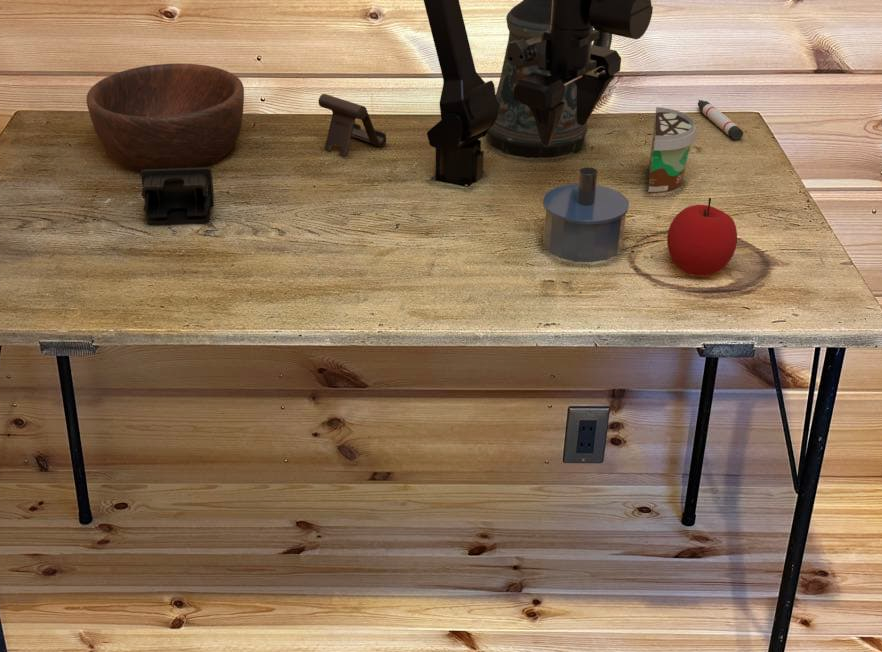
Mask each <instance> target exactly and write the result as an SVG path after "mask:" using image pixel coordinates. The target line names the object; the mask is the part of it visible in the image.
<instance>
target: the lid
mask: <svg viewBox="0 0 882 652" xmlns="http://www.w3.org/2000/svg"><path fill="white" fill-rule="evenodd" d="M598 171H599V170H597V169H596V168H594V167H583V168H580V170H579V172H578V183H569V184H564V185H561V186H557V187H554V188H552V189H550V190H549V191H547V192H546V193H545V194H544V196H543V198H542V206H543V208H544V211H545V210H546V211H547V212H548V213H549V214H551V215H552V216H554V217H556V218H558V219H561V220H564V221H567V222H572V223H578V224H602V223H608V222H612V221H615V220H617V219H620V218H621V217H623V216H624V215H625V214H626V215H627V214H628V211H629V208H630V203H629V200H628V198H627V197H626V196H625V195H624V194H623V193H622V192H620V191H617V190H616V189H613V188H611V187H608V186H604V185H599V184H598V174H599V173H598Z"/></svg>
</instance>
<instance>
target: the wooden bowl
mask: <svg viewBox="0 0 882 652" xmlns="http://www.w3.org/2000/svg"><path fill="white" fill-rule="evenodd" d="M244 102H245V87H244V84H243V82H242V80H240V78H239V77H238V76H236V75H235V74H233V73H232V72H230V71H228V70H225V69H222V68H218V67H215V66H211V65H204V64H196V63H159V64H151V65H150V64H149V65H145V66H144V65H143V66H139V67H134V68H130V69H125V70H123V71H119V72H116V73H113V74H111V75H108V76H106V77H104V78H102V79H101V80H99V81H98V82H96V83H95V84H94V85H93V86H92V87H91V88H90V89H89V90H88V92H87V93H86V101H85V103H86V107H87V110H88V114H89V116H90V120H91V123H92V126H93V129H94V131H95V134H96V136H97V138H98V140H99V142H100V143H101V145H102V147H103V149H104V150H105V151H106V153H107V154H108V155H109V156H110V157H111V158H112V160H114V161H115V162H116V163H118V164H120V165H121V166H123V167H125V168H128V169H130V170H134V171H138V172H141V171H142V170H144V169H171V168H197V167H208V166H209V165H211V164H214V163H216V162H218V161H220V160H222V159H224V157H226V156H227V155H228V154H229V153H230V152H231V151H232V149H233V148H234V146H235V144H236V143H237V140H238V138H239V135H240V132H241V128H242V124H243V117H244V104H245V103H244Z"/></svg>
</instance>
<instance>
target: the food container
mask: <svg viewBox="0 0 882 652" xmlns="http://www.w3.org/2000/svg"><path fill="white" fill-rule="evenodd" d="M652 130H653V132H652V138H651V139H652V140H651V141H652V142H651V148H650V156H649V164H648V169H649V170H648V190H647V194H662V193H663V194H665V193H669V192H672V191H676V190H678V189H679V188H680V187H681V186H682V183H683V179H684V176H685V175H684V173H685V170H686V165H687V161H688V156H689V152H690V148H691V145H692V144H694V142H696V140H697V129H696V125H695V121H694V120H693V118H692V117H691V116H690V115H688V114H687V113H685V112H682V111H681V110H677V109H673V108H668V107H662V106H661V107H659V106H657V107H655V114H654V123H653V129H652Z"/></svg>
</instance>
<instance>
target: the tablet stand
mask: <svg viewBox="0 0 882 652" xmlns="http://www.w3.org/2000/svg"><path fill="white" fill-rule="evenodd" d="M318 105H319V107H320V108H324V109H326V110H330V111H331V113H332V115H331V119H330V122H329V123H330V124H329V127H328V134H327V136H326V141H325V145H324V149H325V150H326V151H328V152H332V151H333V148H334V145H335V146H338V147H339V153H338V154H339V156H342V157H347V155H348V151H349V147H350V143H351V139H352V138H353V139H357V140H360V141H363V142H365V143H369V144H371V145H373V146H375V147H380V148H383V147H384V146H385V145H386V143H387V133H386V132H384V131H381V130H378V129H375V127H374V125H373V122H372V120H371V117H370V115H369V112H368V110H367V109H368V108H367V107H366V106H364V105H361V104H358V103H355V102H351V101H349V100H346V99H342V98H339V97H337V96H333V95H331V94H327V93H322V94H321V95H320V96H319V98H318ZM356 119H357V120H360V121H361V122H362V124H363V127H364V129H363V128H362V127H361V126H362V125H361V124H360V123H357V122H356Z"/></svg>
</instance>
